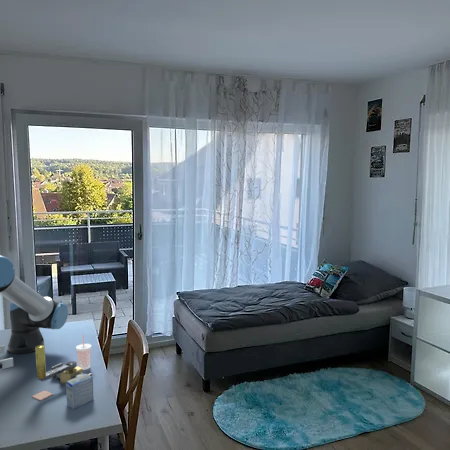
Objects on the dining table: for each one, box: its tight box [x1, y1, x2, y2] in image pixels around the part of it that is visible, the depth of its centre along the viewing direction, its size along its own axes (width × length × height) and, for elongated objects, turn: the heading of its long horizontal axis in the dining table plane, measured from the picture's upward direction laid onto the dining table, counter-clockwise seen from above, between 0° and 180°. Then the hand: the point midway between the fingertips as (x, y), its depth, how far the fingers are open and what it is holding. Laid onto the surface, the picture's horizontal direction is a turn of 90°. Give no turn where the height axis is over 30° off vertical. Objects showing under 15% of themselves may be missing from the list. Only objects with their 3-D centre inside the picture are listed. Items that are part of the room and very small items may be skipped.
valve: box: [50, 362, 93, 386], centre depth 160 cm, size 18×6×6 cm, turn 58°
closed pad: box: [31, 389, 54, 402], centre depth 149 cm, size 5×5×1 cm
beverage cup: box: [75, 334, 92, 371], centre depth 172 cm, size 6×6×14 cm
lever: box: [34, 344, 78, 382], centre depth 154 cm, size 16×4×12 cm, turn 148°
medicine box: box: [65, 373, 95, 410], centre depth 144 cm, size 8×4×9 cm, turn 141°
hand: (8, 355), depth 141 cm, fingers open, 13 cm apart
